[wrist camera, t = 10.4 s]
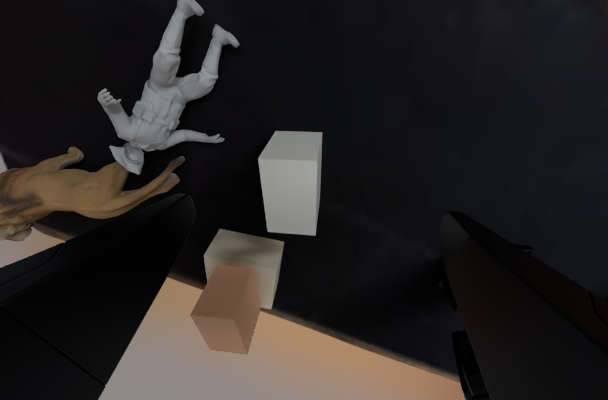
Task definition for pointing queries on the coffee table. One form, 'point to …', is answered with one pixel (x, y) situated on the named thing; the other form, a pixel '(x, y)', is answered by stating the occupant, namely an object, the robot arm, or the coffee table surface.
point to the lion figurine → (70, 192)
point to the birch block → (248, 259)
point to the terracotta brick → (228, 309)
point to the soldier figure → (165, 95)
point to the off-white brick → (291, 181)
